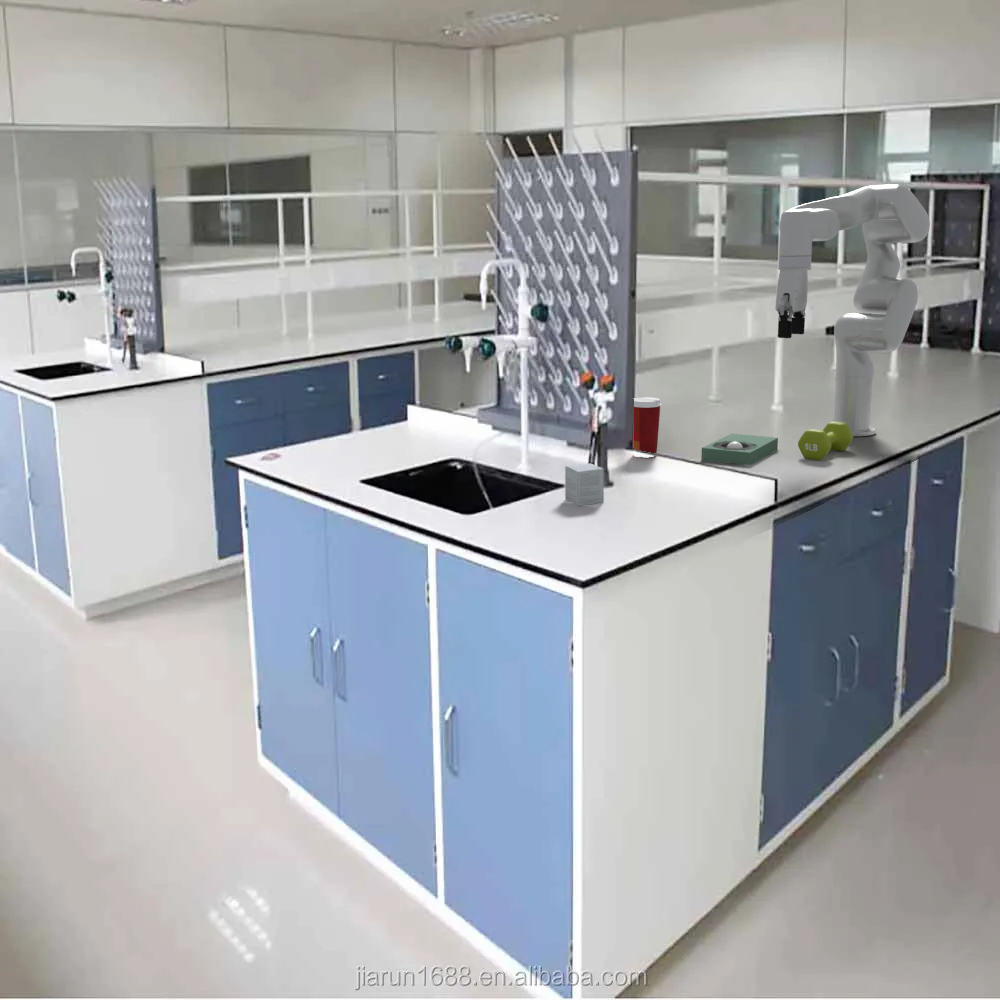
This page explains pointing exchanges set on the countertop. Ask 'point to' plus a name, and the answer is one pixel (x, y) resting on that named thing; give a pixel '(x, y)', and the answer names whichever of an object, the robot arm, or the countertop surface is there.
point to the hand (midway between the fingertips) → (791, 335)
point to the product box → (584, 484)
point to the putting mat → (740, 449)
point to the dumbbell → (825, 440)
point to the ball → (734, 445)
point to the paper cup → (646, 423)
